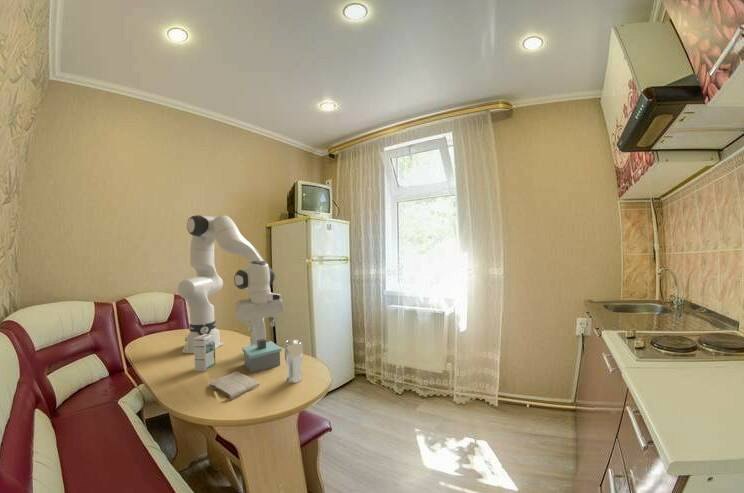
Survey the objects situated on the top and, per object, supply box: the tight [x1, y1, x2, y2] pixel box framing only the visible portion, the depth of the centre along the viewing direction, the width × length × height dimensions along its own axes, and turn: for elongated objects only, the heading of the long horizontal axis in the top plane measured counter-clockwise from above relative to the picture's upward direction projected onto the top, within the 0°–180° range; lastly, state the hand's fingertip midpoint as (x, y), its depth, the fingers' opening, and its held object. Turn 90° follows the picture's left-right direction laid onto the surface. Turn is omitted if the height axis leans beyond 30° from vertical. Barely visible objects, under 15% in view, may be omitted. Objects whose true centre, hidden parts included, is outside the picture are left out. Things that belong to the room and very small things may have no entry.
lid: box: [242, 339, 282, 359], centre depth 124 cm, size 13×13×6 cm
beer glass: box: [284, 339, 304, 384], centre depth 111 cm, size 7×7×15 cm
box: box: [243, 351, 281, 374], centre depth 124 cm, size 12×12×7 cm
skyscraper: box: [249, 318, 267, 346], centre depth 138 cm, size 8×8×28 cm
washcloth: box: [208, 371, 261, 401], centre depth 107 cm, size 12×18×3 cm, turn 54°
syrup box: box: [193, 334, 216, 372], centre depth 124 cm, size 6×6×14 cm
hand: (261, 328), depth 124 cm, fingers open, 8 cm apart
